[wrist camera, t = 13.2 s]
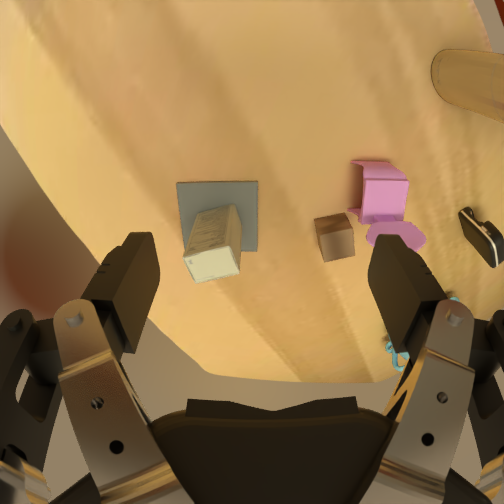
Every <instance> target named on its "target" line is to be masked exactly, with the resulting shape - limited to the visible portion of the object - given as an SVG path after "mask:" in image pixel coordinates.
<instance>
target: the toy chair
mask: <svg viewBox="0 0 504 504" xmlns="http://www.w3.org/2000/svg"><path fill="white" fill-rule="evenodd" d="M351 163H353V164H359V165H362V166H363V168H364V170H363V198H362V206H361V208H355V209H347V211H349V212H352V213H354V214H356V215H358V217H359V219H358V222H360V223H361V224H372V225H371V227H370V228H369V230H368V232H367V235H366V239H367V241H368V243H369V244H370V245H372V246H373V247H374V245H375V241H376V238H377V236H378V235H379V234H398V235H400V237H401V238H402V240H403V241H404V242H405V244H406V245H407V247H408V248H411V249H412V250H414V251H415V252H417V251H418V250H419V249H420V248H421V247H422V246H423V245H424V244H425V243H426V237H425V235H424V234H423V233H422V232H421V231H420V230H419V229H418V228H417V227H416V226H415V225H413V224H412V223H411V222H405V221H403V217H404V210H405V204H406V198H407V193H408V188H409V181H408V180H407V178H406V175H405V174H404V173H403V172H401V171H400V170H399V169H397V168H395V167H394V166H392V165H391V164H390V163H389V162H378V161H351Z"/></svg>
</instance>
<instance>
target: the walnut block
mask: <svg viewBox="0 0 504 504" xmlns="http://www.w3.org/2000/svg"><path fill="white" fill-rule="evenodd" d="M314 221H315V226H316V232H317V237H318V243H319V247H320V250H321V254H322V257H323V260H324V262H329V261H333V260H338V259H342V258H347V257H351V256H355V247H354V236H353V228H352V226H351V224H350V222H349V220H348V218H347V216H346V215H345V213H340V214H336V215H331V216H326V217H322V218H317V219H314Z"/></svg>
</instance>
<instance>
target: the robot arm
mask: <svg viewBox="0 0 504 504" xmlns="http://www.w3.org/2000/svg"><path fill="white" fill-rule="evenodd" d="M431 75H432V81H433V84H434V87H435V89H436V90H437V92H438V94H439V95H440V96H441V97H442V98H443V99H444V100H445V101H447V102H449V103H451V104H454V105H457V106H460V107H463V108H465V109H468V110H471V111H474V112H476V113H479V114H482V115H484V116H487V117H490V118H492V119H495V120H497V121H499V122H502V123H504V54H499V53H490V52H481V51H469V50H454V49H447V50H443V51H441V52H440V53H438V54H437V55H436V57H435V58H434V61H433V63H432V69H431ZM159 282H160V267H159V262H158V258H157V253H156V248H155V243H154V238H153V235H152V233H151V232H131V233H129V235H128V236H127V238H126V239H125V241H124V243H123V244H122V246H117V247H116V248H114V249H113V250H112V251H111V252H109V253H108V254H107V255H106V257H105V258H104V260H103V262H102V263H101V265H100V267H99V268H98V270H97V273H96V274H94V276H93V278H92V279H91V281H90V283H89V284H88V286H87V288H86V289H85V291H84V293H83V295H82V296H81V298H80V299H76V300H73V301H70V302H68V303H66V304H64V305H63V306H62V307H61V308H59V310H58V311H57V312H56V314H55V316H54V318H52V319H46V320H40V321H36V320H35V319H34V317H33V315H32V314H31V312H29V310H26V309H19V310H16V311H14V312H12V313H10V314H9V315H8V316H7V317H6V318H5V319H4V320H3V322H2V323H1V325H0V504H504V400H503V398H502V395H501V392H500V390H499V387H498V384H497V382H496V379H495V377H494V374H495V372H496V371H497V370H498V369H499V368H500V366H501V367H502V370H503V372H504V310H498V311H496V312H495V313H494V315H493V316H492V318H491V320H490V321H485V320H480V319H475V318H474V317H473V314H472V313H471V311H470V310H469V309H468V308H467V307H466V306H465V305H464V304H462V303H460V302H458V301H456V300H452V299H448V298H447V296H446V294H445V293H444V291H443V289H442V288H441V286H440V285H439V283H438V282H437V280H436V278H435V277H434V275H432V272H431V271H430V269H429V268H428V267H427V265H426V263H425V262H424V260H423V259H422V257H421V256H420V255H419V254H417V253H416V252H415V251H414V250H412V249H411V248H408V247H407V245H406V244H405V242H404V241H403V240H402V238H401V237H400V235H398V234H379V235H378V236H377V238H376V241H375V245H374V249H373V253H372V257H371V261H370V265H369V269H368V283H369V286H370V289H371V291H372V294H373V296H374V298H375V301H376V303H377V306H378V308H379V311H380V313H381V316H382V319H383V321H384V324H385V326H386V329H387V332H388V334H389V337H390V340H391V342H392V345H393V348H394V351H395V354H396V353H404V352H408V354H409V358H408V360H407V362H406V364H405V366H404V368H403V371H402V373H401V376H400V378H399V380H398V383H397V385H396V387H395V389H394V391H393V394H392V396H391V398H390V400H389V402H388V404H387V406H386V407H385V409H384V411H383V412H382V414H380V413H378V412H375V411H372V410H369V409H365V408H360V407H358V406H357V401H356V397H355V396H353V397H343V398H334V399H321V400H314V401H310V402H307V403H304V404H300V405H297V406H293V407H289V408H285V409H282V410H277V411H269V410H264V409H259V408H255V407H251V406H246V405H242V404H238V403H234V402H230V401H213V400H198V399H188V401H187V407H186V410H181V411H177V412H173V413H170V414H167V415H164V416H162V417H160V418H158V419H156V420H154V421H152V420H151V418H150V416H149V415H148V413H147V412H146V410H145V408H144V406H143V404H142V403H141V401H140V399H139V397H138V395H137V393H136V391H135V389H134V387H133V385H132V383H131V381H130V379H129V377H128V375H127V373H126V371H125V369H124V367H123V365H122V363H121V361H120V360H121V356H122V354H123V352H125V353H133V354H135V352H136V349H137V345H138V342H139V339H140V336H141V333H142V330H143V327H144V325H145V321H146V318H147V316H148V313H149V310H150V307H151V305H152V302H153V299H154V296H155V293H156V291H157V288H158V285H159ZM24 369H25V370H26V371H27V372H28V373H29V377H28V379H27V382H26V384H25V387H24V389H23V392H22V395H21V397H20V400H19V403H18V402H17V400H16V394H15V392H16V387H17V384H18V382H19V380H20V377H21V375H22V373H23V370H24ZM62 396H63V398H64V401H65V405H66V408H67V411H68V414H69V418H70V421H71V424H72V426H73V430H74V432H75V435H76V438H77V441H78V443H79V446H80V449H81V451H82V453H83V456H84V459H85V461H86V464H87V465H88V468H89V470H90V472H89V473H88V474H87V475H85V476H84V477H83V478H82V479H80V480H79V481H78V482H76V483H75V484H74V485H73V486H71V487H70V488H69V489H67V490H66V491H65V492H63V493H62V494H61V495H59V496H58V497H56V498H55V499H54V500H52V501H51V502H50V503H49V502H48V500H49V499H50V497H51V490H50V488H49V487H48V486H47V483H46V479H45V477H44V475H43V474H42V472H43V467H44V463H45V458H46V454H47V450H48V446H49V442H50V438H51V434H52V430H53V426H54V423H55V419H56V416H57V412H58V409H59V405H60V402H61V399H62ZM467 411H468V414H469V417H470V420H471V424H472V428H473V432H474V436H475V439H476V443H477V448H478V452H479V456H480V460H481V465H482V472H481V475H480V479H478V480H477V481H476V483H475V485H474V486H473V485H472V484H471V483H470V482H468V481H467V480H466V479H464V478H463V477H462V476H461V475H459V474H458V473H457V472H455V471H454V470H453V469H452V468H450V466H451V463H452V460H453V458H454V455H455V452H456V449H457V446H458V442H459V439H460V436H461V432H462V429H463V425H464V422H465V418H466V414H467Z"/></svg>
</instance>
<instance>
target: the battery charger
mask: <svg viewBox="0 0 504 504" xmlns="http://www.w3.org/2000/svg"><path fill="white" fill-rule="evenodd" d="M459 218H460V221H461V225H462V228H463V231H464V235H465V237H466V239H467V240H468V241H469V242H470V243H471V244H472V245H473V246H474V248H475V249H476V250H477V251H478V252H479V254H480V255H481V256H482V257H483V258H484V260H485V261H486V262H487V263H488V264H489V266H490V267H492V268H495V267H497V266H498V265H499V264H500V263H501V262H503V261H504V238H503V236H502V234H501V233H500V231H499V230H498V229H497V228H496V227H495V226H494V225H493V224H492V223H491V222H490V221H486V222H485V223H483V222H479V221H477V220H476V219H475V218H474V215H473V211H472V209H471V208H466V209H464V210H463V211H460V213H459Z"/></svg>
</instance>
